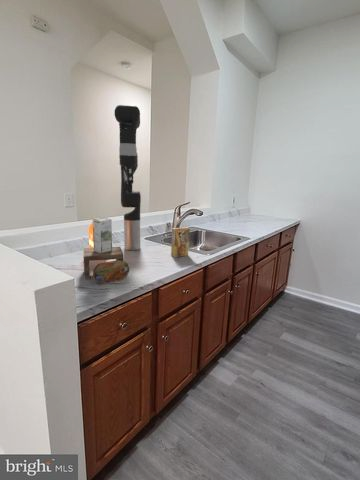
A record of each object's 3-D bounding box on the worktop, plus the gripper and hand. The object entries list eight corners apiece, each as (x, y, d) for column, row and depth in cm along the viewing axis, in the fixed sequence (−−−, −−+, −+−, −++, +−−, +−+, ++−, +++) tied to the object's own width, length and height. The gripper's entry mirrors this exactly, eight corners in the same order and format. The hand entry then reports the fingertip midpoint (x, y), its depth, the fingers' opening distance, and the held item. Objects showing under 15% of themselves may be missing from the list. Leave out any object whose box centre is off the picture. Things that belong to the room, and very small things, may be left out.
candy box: (184, 253, 154) (185, 226, 151) (188, 255, 151) (189, 228, 147) (170, 255, 150) (171, 228, 146) (174, 257, 146) (175, 229, 143)
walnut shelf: (85, 269, 125) (83, 248, 123) (120, 266, 130) (120, 246, 128) (84, 279, 114) (83, 256, 112) (123, 276, 119) (123, 254, 117)
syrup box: (104, 248, 124) (103, 216, 120) (112, 251, 120) (111, 218, 116) (93, 251, 119) (91, 218, 116) (101, 254, 116) (100, 220, 112)
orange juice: (94, 259, 140) (92, 220, 135) (89, 254, 147) (87, 217, 142) (109, 256, 144) (108, 219, 139) (103, 252, 151) (102, 216, 147)
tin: (94, 285, 109) (93, 265, 107) (92, 283, 111) (91, 263, 109) (129, 278, 117) (129, 259, 115) (126, 275, 120) (126, 257, 118)
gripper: (118, 154, 127) (118, 190, 131) (121, 154, 114) (121, 193, 118) (134, 155, 129) (134, 190, 133) (139, 154, 116) (139, 193, 120)
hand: (128, 191), depth 126 cm, fingers open, 8 cm apart
